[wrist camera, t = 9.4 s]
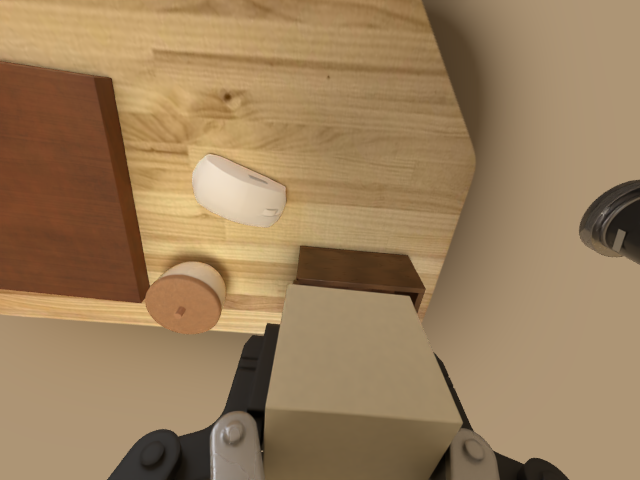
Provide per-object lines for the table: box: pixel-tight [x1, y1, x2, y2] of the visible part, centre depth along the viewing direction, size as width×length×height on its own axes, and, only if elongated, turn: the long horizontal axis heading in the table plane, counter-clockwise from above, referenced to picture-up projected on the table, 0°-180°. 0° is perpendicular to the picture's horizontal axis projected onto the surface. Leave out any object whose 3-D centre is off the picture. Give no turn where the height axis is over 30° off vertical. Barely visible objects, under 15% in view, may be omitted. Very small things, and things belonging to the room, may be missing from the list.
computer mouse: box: [192, 154, 286, 227], centre depth 38 cm, size 6×13×6 cm, turn 65°
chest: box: [297, 246, 426, 312], centre depth 45 cm, size 18×13×9 cm
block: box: [263, 284, 463, 480], centre depth 10 cm, size 5×5×5 cm
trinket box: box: [145, 262, 226, 334], centre depth 44 cm, size 11×11×9 cm
